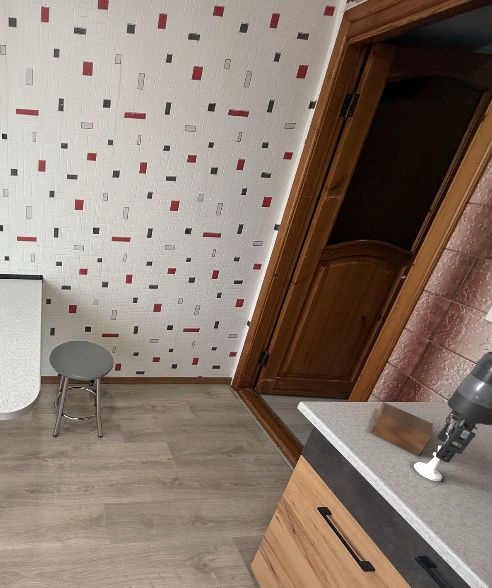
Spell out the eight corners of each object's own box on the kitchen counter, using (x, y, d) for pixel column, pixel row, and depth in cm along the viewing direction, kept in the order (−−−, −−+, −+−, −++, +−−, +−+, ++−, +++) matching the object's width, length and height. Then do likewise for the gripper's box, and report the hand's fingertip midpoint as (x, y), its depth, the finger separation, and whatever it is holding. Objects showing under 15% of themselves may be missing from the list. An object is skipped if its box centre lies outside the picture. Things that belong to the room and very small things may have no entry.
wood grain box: (421, 430, 95) (434, 411, 92) (417, 456, 86) (431, 436, 83) (377, 410, 102) (388, 392, 99) (370, 432, 93) (381, 413, 90)
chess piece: (412, 470, 82) (433, 441, 78) (415, 460, 85) (435, 431, 81) (440, 485, 79) (463, 455, 74) (442, 474, 82) (464, 445, 78)
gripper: (511, 422, 65) (464, 478, 72) (505, 393, 74) (463, 445, 81) (457, 401, 70) (418, 454, 77) (457, 376, 79) (422, 425, 86)
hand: (441, 449), depth 79 cm, fingers open, 8 cm apart
